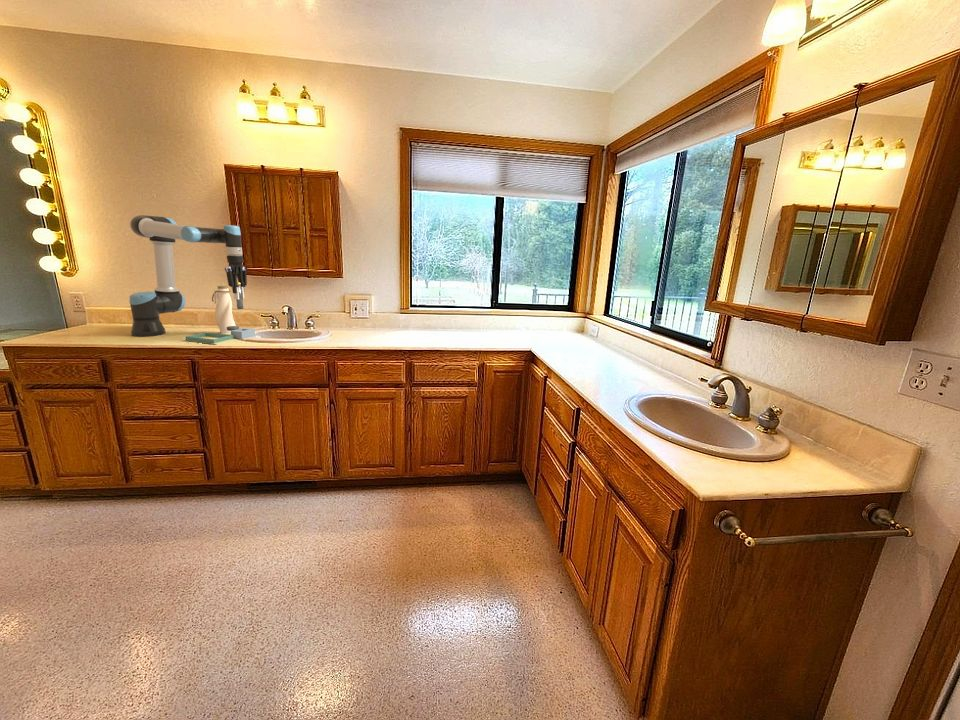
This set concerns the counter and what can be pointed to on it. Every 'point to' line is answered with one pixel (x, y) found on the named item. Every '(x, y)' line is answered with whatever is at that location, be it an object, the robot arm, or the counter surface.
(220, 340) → the tray
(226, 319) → the water bottle
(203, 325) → the counter surface
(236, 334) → the tensioner block
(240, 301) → the lock pin
